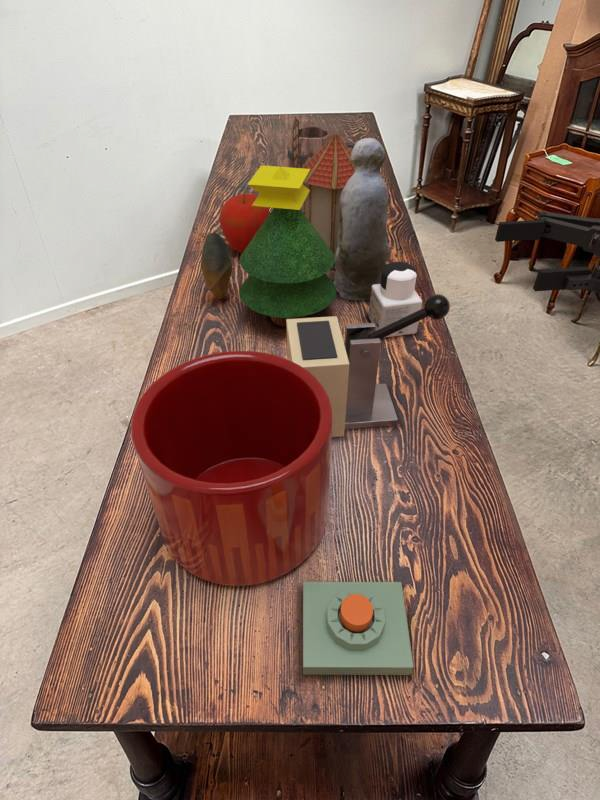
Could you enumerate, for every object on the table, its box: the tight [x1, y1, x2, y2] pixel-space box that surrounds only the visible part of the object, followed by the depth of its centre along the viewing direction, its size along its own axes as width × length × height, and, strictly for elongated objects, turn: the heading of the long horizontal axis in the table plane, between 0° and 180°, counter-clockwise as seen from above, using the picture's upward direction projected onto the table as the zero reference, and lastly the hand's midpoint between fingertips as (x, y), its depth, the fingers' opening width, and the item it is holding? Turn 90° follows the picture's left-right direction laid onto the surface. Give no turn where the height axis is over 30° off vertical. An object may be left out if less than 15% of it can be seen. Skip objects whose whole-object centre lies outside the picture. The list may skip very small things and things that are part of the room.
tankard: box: [287, 125, 356, 214], centre depth 142 cm, size 24×17×20 cm
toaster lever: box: [350, 293, 451, 340], centre depth 80 cm, size 15×4×4 cm, turn 96°
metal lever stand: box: [344, 322, 399, 430], centre depth 85 cm, size 12×9×16 cm
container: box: [368, 261, 423, 339], centre depth 104 cm, size 8×8×13 cm
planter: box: [130, 350, 333, 587], centre depth 69 cm, size 23×23×20 cm
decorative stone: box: [200, 232, 233, 301], centre depth 111 cm, size 10×6×15 cm, turn 173°
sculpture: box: [333, 137, 391, 302], centre depth 109 cm, size 11×14×30 cm
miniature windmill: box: [292, 117, 355, 271], centre depth 121 cm, size 24×20×30 cm
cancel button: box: [340, 594, 373, 632], centre depth 60 cm, size 4×4×2 cm
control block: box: [302, 581, 414, 676], centre depth 62 cm, size 12×10×4 cm
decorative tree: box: [239, 165, 337, 328], centre depth 101 cm, size 19×19×30 cm
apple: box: [218, 192, 271, 254], centre depth 127 cm, size 12×12×14 cm
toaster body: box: [286, 315, 349, 438], centre depth 85 cm, size 8×12×15 cm, turn 6°
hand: (515, 254), depth 74 cm, fingers open, 13 cm apart
